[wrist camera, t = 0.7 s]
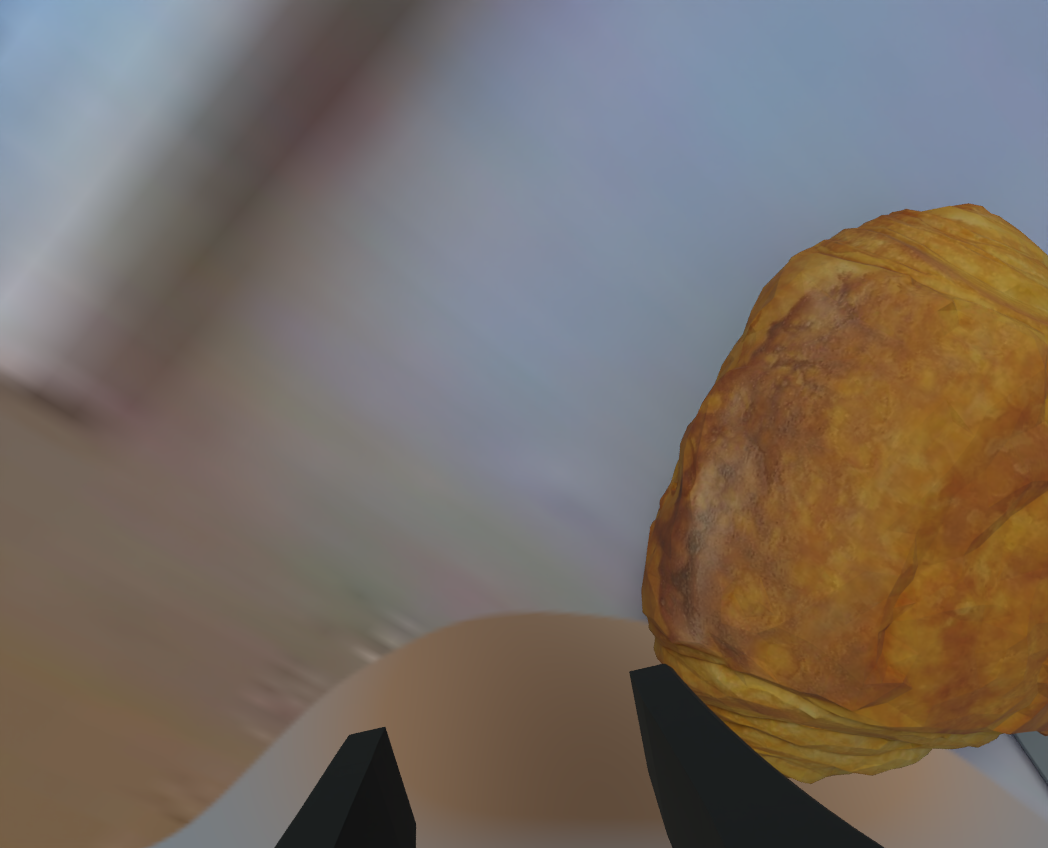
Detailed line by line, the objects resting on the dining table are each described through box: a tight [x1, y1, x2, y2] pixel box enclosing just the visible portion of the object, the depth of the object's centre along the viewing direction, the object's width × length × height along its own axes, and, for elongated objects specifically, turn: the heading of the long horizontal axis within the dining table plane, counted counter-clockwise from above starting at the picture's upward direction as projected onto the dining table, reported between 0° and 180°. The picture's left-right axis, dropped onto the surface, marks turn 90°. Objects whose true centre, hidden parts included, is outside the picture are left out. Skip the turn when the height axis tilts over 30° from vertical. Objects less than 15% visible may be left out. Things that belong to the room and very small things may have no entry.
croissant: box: [641, 203, 1048, 784], centre depth 17 cm, size 14×16×8 cm
